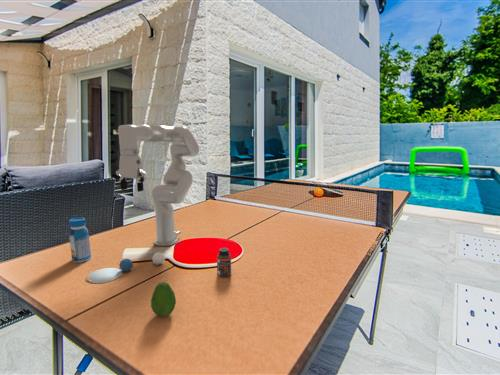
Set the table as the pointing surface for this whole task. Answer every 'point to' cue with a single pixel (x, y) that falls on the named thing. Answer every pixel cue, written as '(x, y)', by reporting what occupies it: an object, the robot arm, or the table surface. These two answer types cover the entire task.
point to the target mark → (104, 275)
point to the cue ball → (158, 258)
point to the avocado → (163, 300)
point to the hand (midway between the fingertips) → (132, 190)
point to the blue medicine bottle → (79, 240)
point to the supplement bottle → (224, 263)
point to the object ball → (126, 265)
